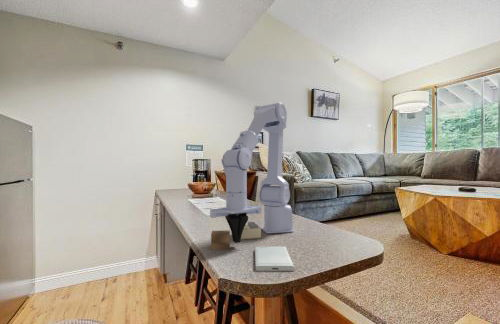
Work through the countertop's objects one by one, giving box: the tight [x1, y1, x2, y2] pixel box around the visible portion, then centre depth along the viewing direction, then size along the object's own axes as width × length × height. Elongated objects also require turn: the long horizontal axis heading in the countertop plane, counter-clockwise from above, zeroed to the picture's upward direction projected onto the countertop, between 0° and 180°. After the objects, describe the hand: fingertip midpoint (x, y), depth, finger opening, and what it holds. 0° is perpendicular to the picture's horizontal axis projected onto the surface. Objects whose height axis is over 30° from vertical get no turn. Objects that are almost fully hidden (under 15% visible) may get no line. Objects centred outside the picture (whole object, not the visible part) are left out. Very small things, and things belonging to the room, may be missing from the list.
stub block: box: [210, 229, 231, 251], centre depth 64 cm, size 5×4×4 cm
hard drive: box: [254, 245, 296, 272], centre depth 55 cm, size 2×8×12 cm
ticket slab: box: [241, 221, 262, 240], centre depth 74 cm, size 8×6×4 cm
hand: (236, 241), depth 64 cm, fingers closed
